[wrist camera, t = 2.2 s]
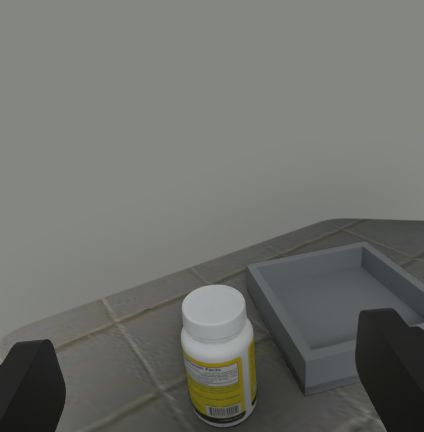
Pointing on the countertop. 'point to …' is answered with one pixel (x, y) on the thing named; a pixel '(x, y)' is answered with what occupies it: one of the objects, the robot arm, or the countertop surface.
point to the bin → (329, 307)
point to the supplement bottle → (219, 355)
